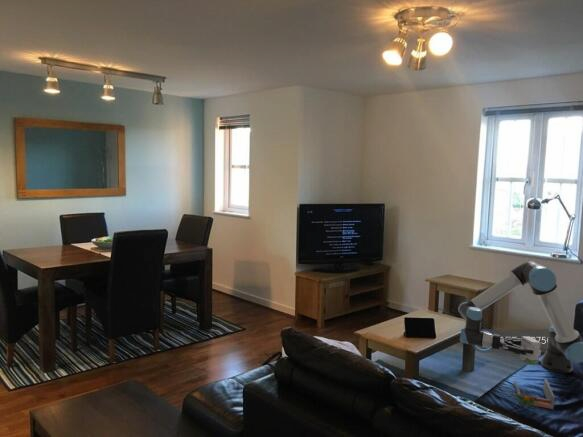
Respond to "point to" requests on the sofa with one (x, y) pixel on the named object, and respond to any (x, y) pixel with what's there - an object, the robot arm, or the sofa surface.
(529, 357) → the ink box
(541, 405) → the trap channel
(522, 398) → the figurine
